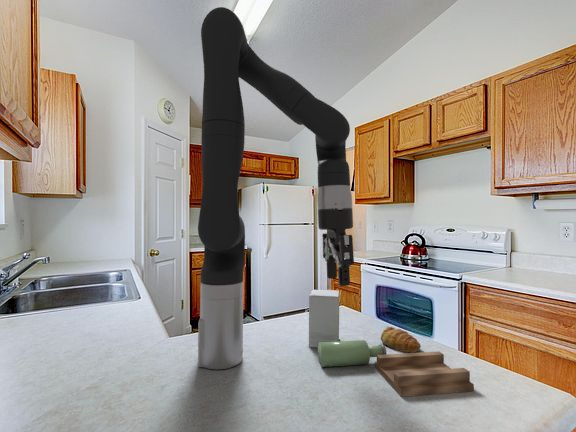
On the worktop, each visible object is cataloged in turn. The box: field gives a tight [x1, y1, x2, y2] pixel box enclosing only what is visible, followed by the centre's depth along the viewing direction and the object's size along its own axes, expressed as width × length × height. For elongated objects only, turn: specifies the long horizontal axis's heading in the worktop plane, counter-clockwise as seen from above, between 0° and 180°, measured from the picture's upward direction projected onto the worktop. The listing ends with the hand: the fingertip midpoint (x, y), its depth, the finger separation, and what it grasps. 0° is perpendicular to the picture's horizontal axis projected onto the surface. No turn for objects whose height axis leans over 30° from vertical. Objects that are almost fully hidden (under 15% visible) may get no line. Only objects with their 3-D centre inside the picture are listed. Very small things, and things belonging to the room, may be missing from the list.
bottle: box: [317, 339, 388, 368], centre depth 67 cm, size 14×5×5 cm, turn 98°
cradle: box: [374, 351, 475, 398], centre depth 60 cm, size 14×11×3 cm
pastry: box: [380, 326, 421, 353], centre depth 76 cm, size 9×7×4 cm
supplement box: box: [308, 289, 340, 348], centre depth 78 cm, size 7×7×13 cm
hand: (337, 281), depth 68 cm, fingers open, 8 cm apart
